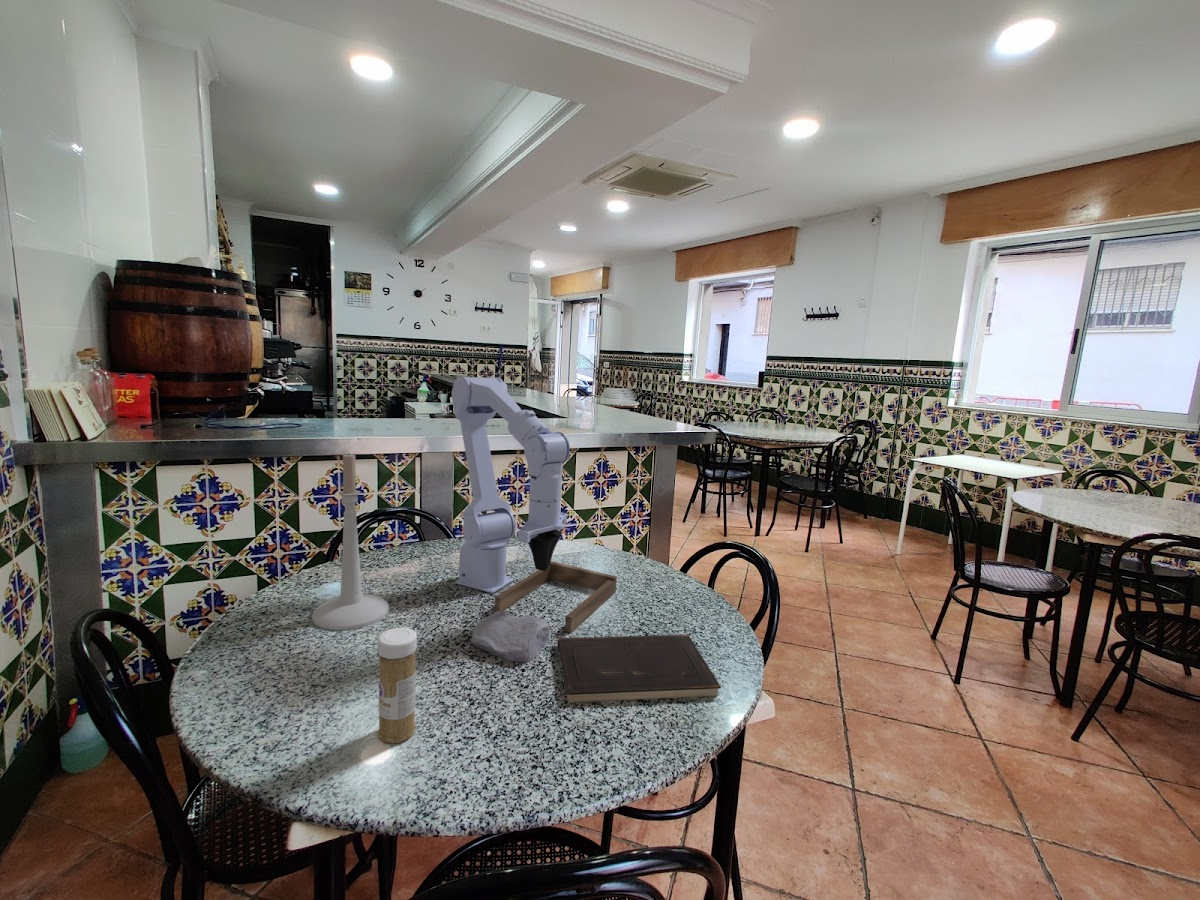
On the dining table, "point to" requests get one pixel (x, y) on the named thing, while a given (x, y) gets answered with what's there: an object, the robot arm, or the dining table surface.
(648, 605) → the dining table surface
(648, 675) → the hardcover book
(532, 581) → the shelf lane
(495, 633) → the stone block
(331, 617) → the candlestick
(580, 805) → the dining table surface
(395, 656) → the sprinkles bottle
